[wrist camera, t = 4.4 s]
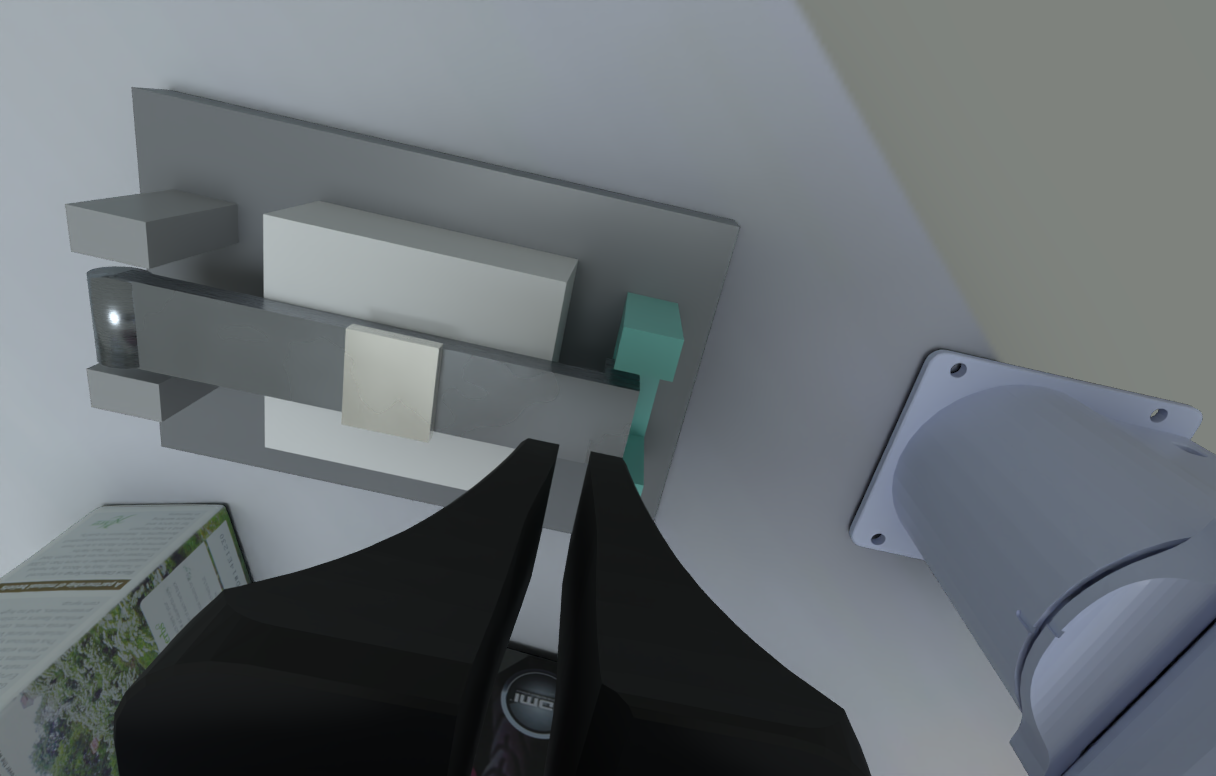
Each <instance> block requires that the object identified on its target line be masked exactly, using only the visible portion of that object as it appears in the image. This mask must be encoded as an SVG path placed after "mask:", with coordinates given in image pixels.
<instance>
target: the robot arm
mask: <svg viewBox="0 0 1216 776" xmlns="http://www.w3.org/2000/svg"><path fill="white" fill-rule="evenodd" d="M957 363H961V368H960V369H959V371H958V372H956V373H950V370H951V368H952V367H953V365H955V364H957ZM1157 409H1159V410H1158V413H1157V414H1156V415H1155V416H1152V417H1151V414H1152V413H1153V412H1154V411H1155V410H1157ZM1202 419H1203V418H1202V413H1201V412H1200V411H1199V410H1198V409H1196V408H1194V407H1192V406H1190V405H1187V404H1183V403H1178V402H1174V401H1170V400H1165V399H1161V398H1157V397H1152V396H1148V395H1143V394H1139V393H1134V392H1130V391H1126V390H1121V389H1117V388H1112V387H1108V386H1103V385H1099V384H1095V383H1090V382H1086V381H1081V380H1077V379H1073V378H1068V377H1064V376H1059V375H1055V374H1051V373H1046V372H1042V371H1037V370H1033V369H1029V368H1024V367H1019V366H1015V365H1011V364H1006V363H1002V362H998V361H993V360H989V359H984V358H980V357H975V356H971V355H967V354H962V353H958V352H953V351H949V350H937V351H934V352H932V353H931V354H930V355H929V356H928V357H927V358H926V360H925V362H924V364H923V366H922V369H921V371H920V373H919V375H918V378H917V380H916V382H915V384H914V386H913V389H912V391H911V393H910V395H909V398H908V400H907V402H906V404H905V407H904V409H903V411H902V413H901V415H900V418H899V420H898V422H897V424H896V427H895V429H894V431H893V433H892V436H891V438H890V440H889V442H888V444H887V447H886V449H885V451H884V453H883V456H882V458H881V460H880V462H879V464H878V467H877V469H876V471H875V473H874V476H873V478H872V480H871V482H870V485H869V487H868V489H867V491H866V493H865V496H864V498H863V500H862V502H861V505H860V507H859V509H858V511H857V514H856V516H855V518H854V520H853V522H852V525H851V527H850V530H849V534H850V537H851V539H852V541H853V542H854V543H855V544H856V545H858V546H861V547H866V548H870V549H875V550H879V551H884V552H889V553H893V554H898V555H903V556H907V557H912V558H917V559H921V560H925V561H926V563H927V564H928V566H929V568H930V569H931V571H932V572H933V574H934V575H935V577H936V579H937V580H938V582H939V583H940V585H941V586H942V588H943V590H944V591H945V593H946V594H947V596H948V597H949V599H950V601H951V602H952V604H953V605H954V607H955V608H956V610H957V612H958V613H959V615H960V616H961V618H962V620H963V621H964V623H965V624H966V626H967V627H968V629H969V631H970V632H971V634H972V635H973V637H974V638H975V640H976V642H977V643H978V645H979V646H980V648H981V649H982V651H983V653H984V654H985V656H986V657H987V659H988V660H989V662H990V664H991V665H992V667H993V668H994V670H995V671H996V673H997V675H998V676H999V678H1000V679H1001V681H1002V682H1003V684H1004V686H1005V687H1006V689H1007V690H1008V692H1009V693H1010V695H1011V697H1012V698H1013V700H1014V701H1015V703H1016V704H1017V706H1018V708H1019V709H1020V711H1021V712H1022V720H1021V724H1020V726H1019V728H1018V730H1017V732H1016V733H1015V734H1014V736H1013V737H1012V738H1011V740H1010V744H1011V746H1012V748H1013V749H1014V751H1015V753H1016V755H1017V756H1018V758H1019V760H1020V761H1021V763H1022V765H1023V767H1024V768H1025V770H1026V772H1027V773H1028V775H1029V776H1216V455H1215V454H1214V453H1212V452H1210V451H1208V450H1207V449H1205V448H1203V447H1201V446H1200V445H1198V444H1196V443H1195V442H1193V441H1191V440H1190V439H1191V438H1192V436H1193V435H1194V433H1195V432H1196V430H1197V429H1198V427H1199V426H1200V424H1201V422H1202ZM559 446H560V445H559V444H555V443H550V442H545V441H540V440H536V439H531V438H527V439H526V440H524V441H522V442H521V443H520V444H519V445H518V447H517V448H516V449H515V450H514V451H513V452H512V453H511V454H510V455H509V456H508V457H507V458H506V459H505V460H504V461H503V462H502V463H501V464H499V465H498V466H497V467H496V468H495V469H494V470H493V471H491V472H490V473H489V474H488V475H487V476H486V477H484V478H483V479H482V480H481V481H480V482H478V483H477V484H476V485H475V486H473V487H472V488H471V489H469V490H468V491H467V492H465V493H464V494H462V495H461V496H460V497H458V498H457V499H456V500H454V501H453V502H451V503H450V504H449V505H447V506H446V507H444V508H443V509H441V510H440V511H438V512H436V513H435V514H433V515H432V516H430V517H428V518H427V519H425V520H423V521H421V522H420V523H418V524H416V525H414V526H413V527H411V528H409V529H407V530H405V531H403V532H401V533H399V534H396V535H394V536H392V537H390V538H388V539H385V540H383V541H381V542H379V543H376V544H374V545H372V546H370V547H368V548H365V549H363V550H360V551H358V552H355V553H352V554H349V555H347V556H344V557H341V558H339V559H336V560H333V561H330V562H327V563H323V564H320V565H317V566H314V567H311V568H308V569H304V570H301V571H298V572H294V573H290V574H286V575H282V576H278V577H274V578H270V579H266V580H262V581H258V582H254V583H250V584H246V585H242V586H237V587H232V588H228V589H224V590H223V591H222V592H221V593H220V594H219V595H218V596H217V597H216V598H215V599H214V600H212V601H211V602H210V603H209V604H208V605H207V606H206V607H205V608H203V609H202V610H201V611H200V612H199V613H198V614H197V615H196V616H195V617H193V619H192V620H191V621H190V622H189V623H188V624H187V625H186V626H185V627H184V628H183V629H182V630H181V631H180V632H179V633H178V634H177V635H176V636H175V637H174V638H173V639H172V640H171V642H170V643H169V644H168V645H167V646H166V647H165V648H164V649H163V651H162V652H161V653H160V654H159V655H158V656H157V657H156V658H155V659H154V661H153V662H152V663H151V664H150V665H149V666H148V667H147V668H146V670H145V671H144V672H143V673H142V674H141V675H140V676H139V677H138V678H137V680H136V681H135V682H134V683H133V684H132V685H131V686H130V687H129V689H128V690H127V691H126V692H125V694H124V695H123V697H122V699H121V701H120V703H119V705H118V707H117V709H116V711H115V713H114V731H113V739H114V745H115V752H116V758H117V765H118V771H119V776H471V773H472V769H473V765H474V760H475V756H476V752H477V748H478V744H479V740H480V736H481V732H482V728H483V724H484V720H485V716H486V712H487V708H488V704H489V700H490V697H491V694H492V690H493V687H494V684H495V680H496V677H497V674H498V671H499V669H500V666H501V663H502V660H503V657H504V654H505V651H506V648H507V646H508V643H509V640H510V637H511V634H512V631H513V628H514V625H515V623H516V620H517V617H518V614H519V611H520V608H521V605H522V602H523V600H524V597H525V594H526V591H527V588H528V585H529V582H530V579H531V576H532V572H533V567H534V563H535V558H536V554H537V550H538V545H539V541H540V536H541V532H542V527H543V522H544V518H545V513H546V508H547V503H548V498H549V494H550V489H551V484H552V479H553V474H554V470H555V465H556V460H557V455H558V450H559ZM875 534H882V535H881V536H880V537H878V538H876V539H872V537H873V535H875ZM543 776H871V774H870V771H869V768H868V765H867V762H866V760H865V757H864V754H863V752H862V749H861V746H860V744H859V742H858V739H857V737H856V735H855V733H854V731H853V728H852V726H851V724H850V722H849V720H848V717H847V715H846V713H845V710H844V709H843V708H841V707H840V706H839V705H837V704H836V703H834V702H833V701H832V700H830V699H829V698H827V697H826V696H825V695H823V694H822V693H820V692H819V691H818V690H816V689H815V688H813V687H812V686H810V685H809V684H808V683H806V682H805V681H803V680H802V679H801V678H799V677H798V676H796V675H795V674H794V673H792V672H791V671H789V670H788V669H787V668H786V667H784V666H783V665H782V664H781V663H779V662H778V661H777V660H776V659H775V658H773V657H772V656H771V655H770V654H769V653H767V652H766V651H765V650H764V649H763V648H761V647H760V646H759V645H758V644H757V643H755V642H754V641H753V640H752V639H751V638H750V637H749V636H748V635H747V634H745V633H744V632H743V631H742V630H741V629H740V628H739V627H738V626H737V625H736V624H735V623H734V622H733V621H732V620H731V619H730V618H729V617H728V616H727V615H726V614H725V613H724V612H723V611H722V610H721V609H720V608H719V607H718V606H717V605H716V604H715V603H714V602H713V601H712V600H711V599H710V598H709V597H708V596H707V594H706V593H705V592H704V591H703V590H702V589H701V588H700V587H699V585H698V584H697V583H696V582H695V580H694V579H693V578H692V577H691V576H690V574H689V573H688V572H687V571H686V569H685V568H684V567H683V566H682V564H681V563H680V562H679V560H678V559H677V558H676V556H675V555H674V553H673V552H672V550H671V549H670V547H669V546H668V544H667V543H666V541H665V540H664V538H663V536H662V535H661V533H660V531H659V530H658V528H657V526H656V525H655V523H654V521H653V519H652V517H651V516H650V514H649V512H648V510H647V508H646V506H645V505H644V503H643V501H642V499H641V497H640V495H639V492H638V490H637V488H636V486H635V484H634V482H633V479H632V477H631V475H630V472H629V470H628V467H627V465H626V463H625V461H624V460H623V458H621V457H617V456H612V455H607V454H602V453H597V452H593V451H591V452H590V457H589V461H588V465H587V469H586V474H585V478H584V482H583V487H582V491H581V495H580V500H579V504H578V508H577V512H576V517H575V521H574V525H573V530H572V534H571V538H570V544H569V549H568V555H567V560H566V566H565V572H564V577H563V583H562V597H561V613H560V629H559V645H558V661H557V677H556V692H555V702H554V711H553V719H552V725H551V731H550V738H549V744H548V750H547V757H546V763H545V769H544V775H543Z"/></svg>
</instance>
